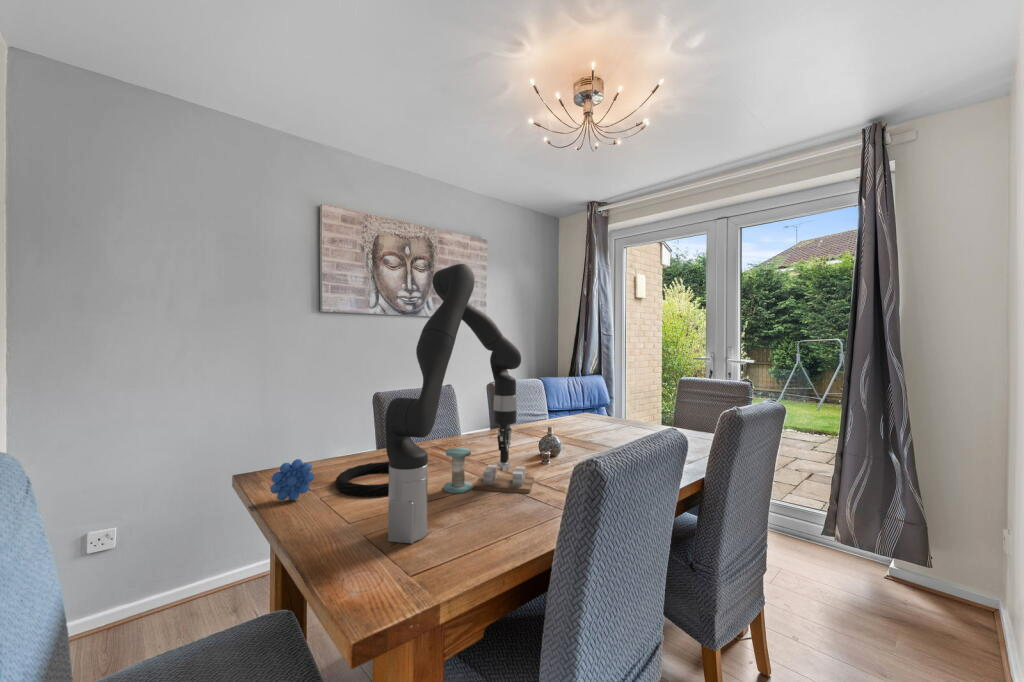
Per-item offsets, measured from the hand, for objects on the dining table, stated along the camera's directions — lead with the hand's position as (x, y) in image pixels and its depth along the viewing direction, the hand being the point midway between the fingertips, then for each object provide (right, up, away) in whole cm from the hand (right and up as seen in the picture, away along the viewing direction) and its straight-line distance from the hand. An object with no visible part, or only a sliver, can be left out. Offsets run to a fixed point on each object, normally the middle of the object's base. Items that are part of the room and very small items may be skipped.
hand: (504, 461), depth 144 cm
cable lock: (-41, -8, +2) cm, 42 cm away
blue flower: (-62, -7, -15) cm, 64 cm away
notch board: (0, -8, 0) cm, 8 cm away
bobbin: (-15, -8, -4) cm, 17 cm away
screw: (0, -3, 0) cm, 3 cm away
